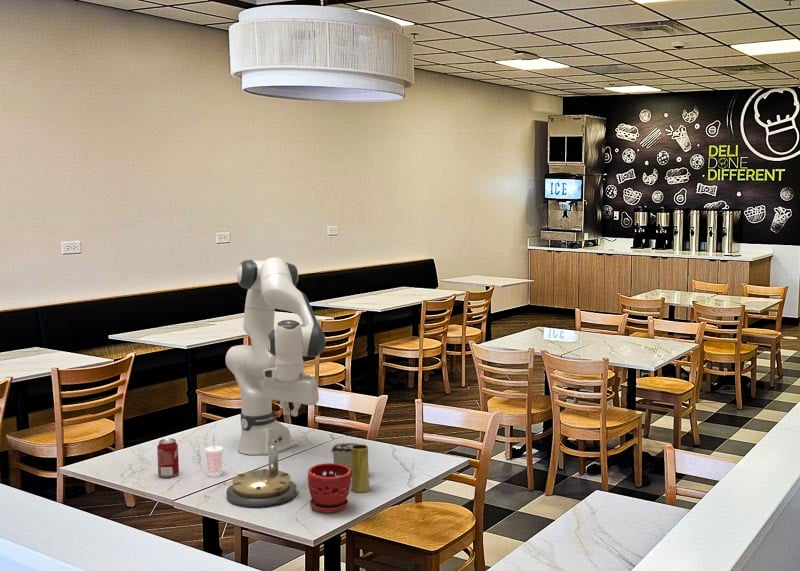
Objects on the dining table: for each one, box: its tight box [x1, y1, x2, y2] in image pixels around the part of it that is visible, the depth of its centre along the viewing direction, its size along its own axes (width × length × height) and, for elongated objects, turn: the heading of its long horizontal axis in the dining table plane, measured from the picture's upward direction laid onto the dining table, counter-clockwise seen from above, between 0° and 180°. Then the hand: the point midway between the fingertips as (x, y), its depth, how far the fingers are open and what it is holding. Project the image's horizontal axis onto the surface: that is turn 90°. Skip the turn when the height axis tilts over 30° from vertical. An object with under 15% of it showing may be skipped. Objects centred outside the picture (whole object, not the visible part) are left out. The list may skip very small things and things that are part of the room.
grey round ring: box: [225, 480, 298, 509], centre depth 263 cm, size 22×22×2 cm
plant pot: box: [307, 462, 352, 513], centre depth 252 cm, size 13×13×12 cm
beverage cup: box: [204, 433, 224, 477], centre depth 282 cm, size 6×6×14 cm
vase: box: [350, 443, 371, 494], centre depth 267 cm, size 6×6×14 cm
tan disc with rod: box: [232, 444, 291, 498], centre depth 262 cm, size 18×18×12 cm
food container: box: [330, 442, 358, 478], centre depth 282 cm, size 12×6×10 cm, turn 71°
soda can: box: [156, 438, 180, 479], centre depth 282 cm, size 7×7×12 cm
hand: (290, 415), depth 263 cm, fingers closed
